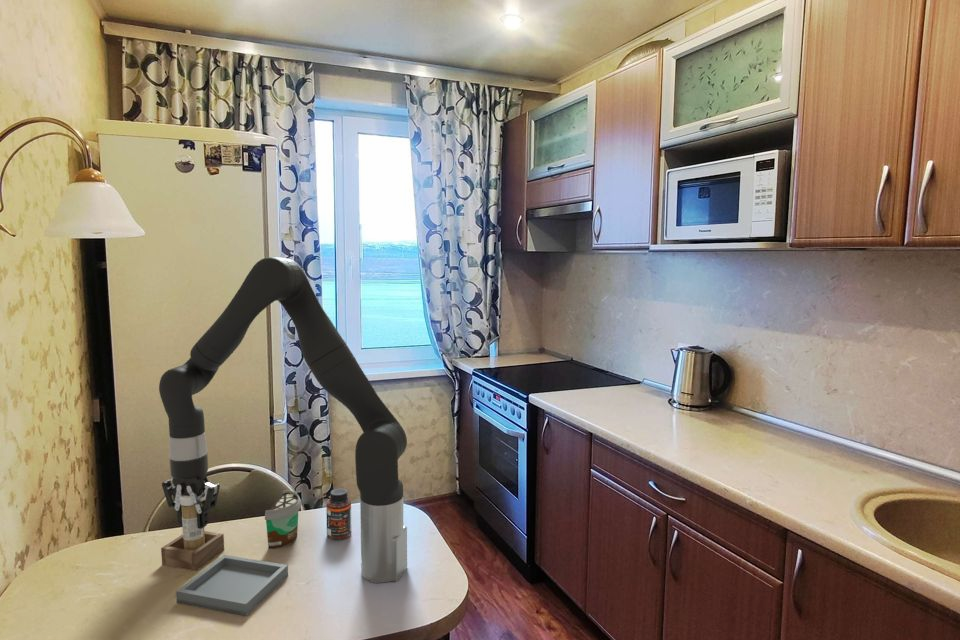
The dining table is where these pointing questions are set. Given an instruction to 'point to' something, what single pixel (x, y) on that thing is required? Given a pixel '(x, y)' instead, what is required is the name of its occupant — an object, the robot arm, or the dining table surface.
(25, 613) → the dining table surface
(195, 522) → the sprinkles bottle
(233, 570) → the tray
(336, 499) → the supplement bottle
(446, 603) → the dining table surface
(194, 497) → the robot arm
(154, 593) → the dining table surface
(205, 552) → the socket
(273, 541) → the food container
